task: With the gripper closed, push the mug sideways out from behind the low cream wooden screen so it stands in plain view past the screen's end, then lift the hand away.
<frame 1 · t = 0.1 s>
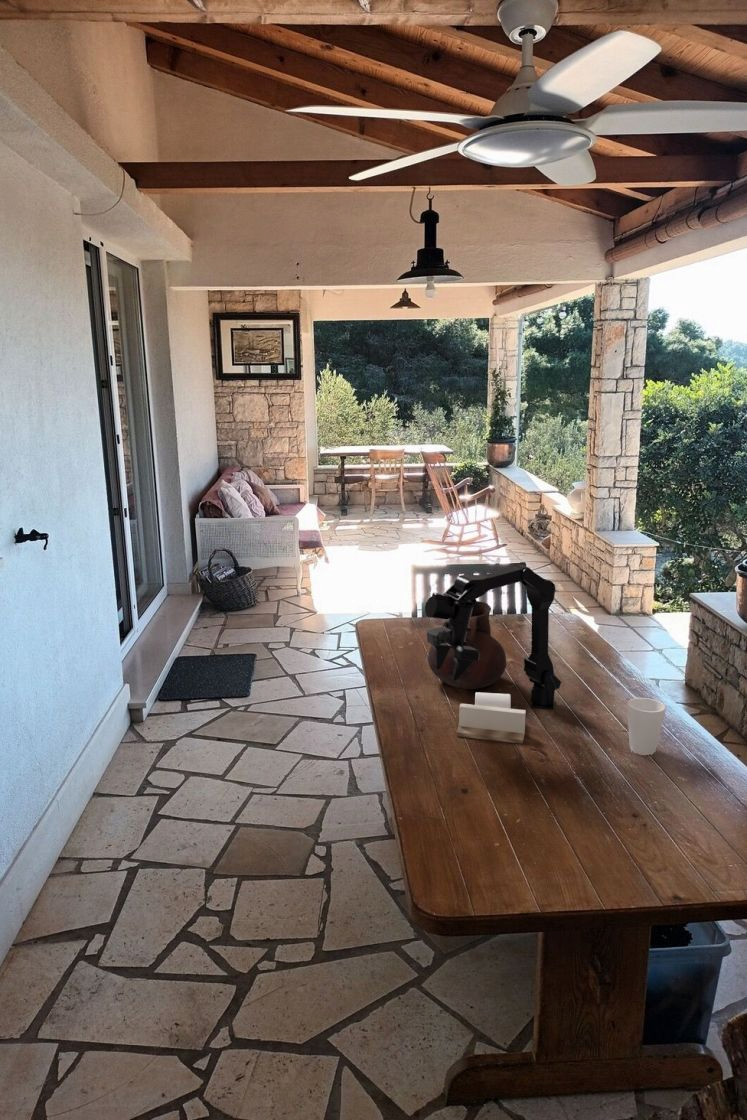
hand: (446, 674, 218), 15 cm above the table, tool pointing down, fingers open, 9 cm apart
mug: (492, 717, 227), on the table
screen: (491, 731, 217), on the table
jug: (466, 683, 252), on the table
foam cup: (642, 751, 206), on the table
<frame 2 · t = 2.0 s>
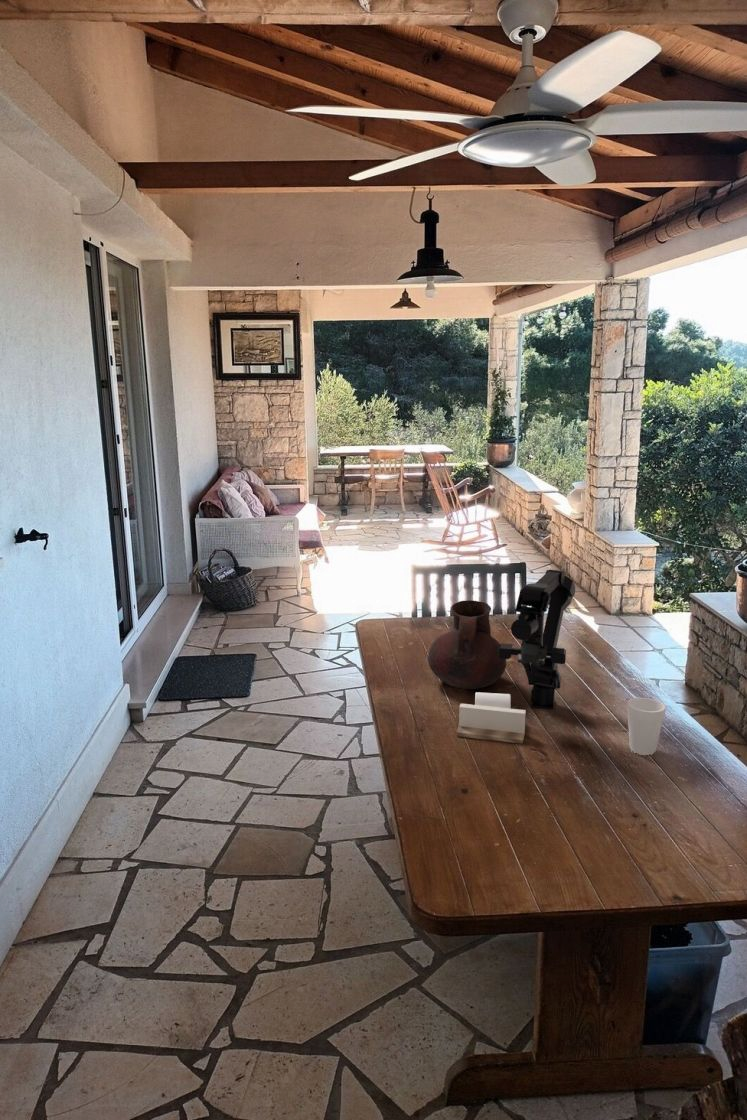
hand: (530, 681, 222), 12 cm above the table, tool pointing down, fingers closed
nothing on the table moved.
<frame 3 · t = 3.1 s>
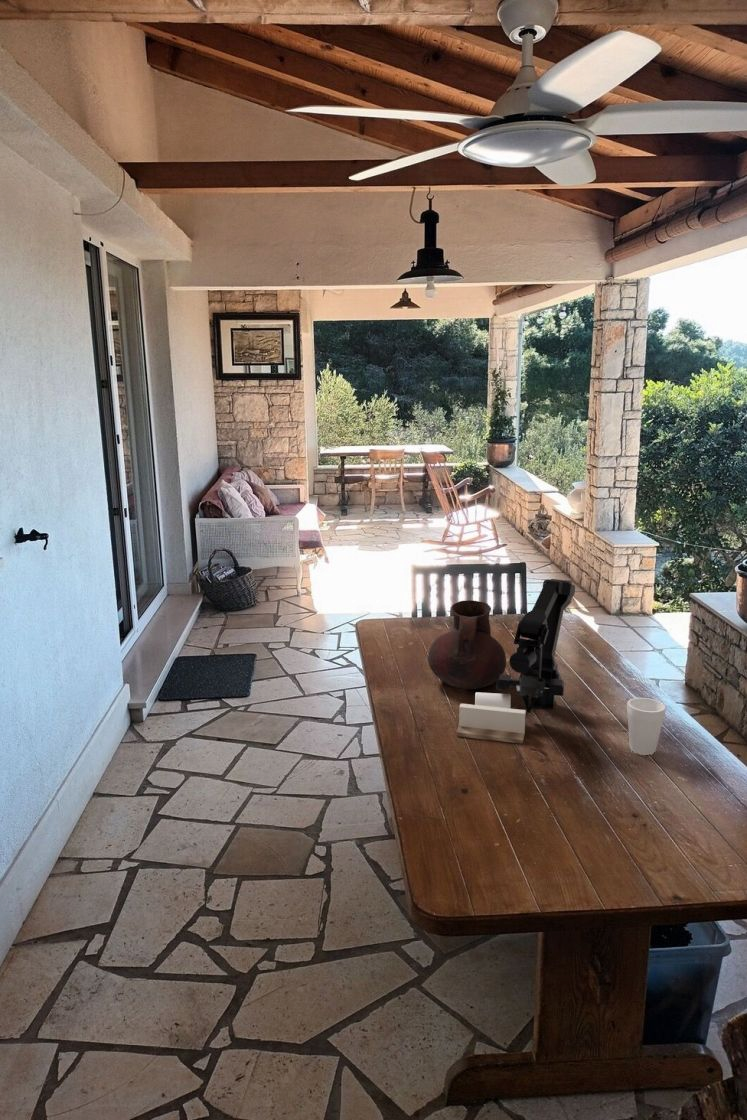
hand: (528, 712, 224), 3 cm above the table, tool pointing down, fingers closed
nothing on the table moved.
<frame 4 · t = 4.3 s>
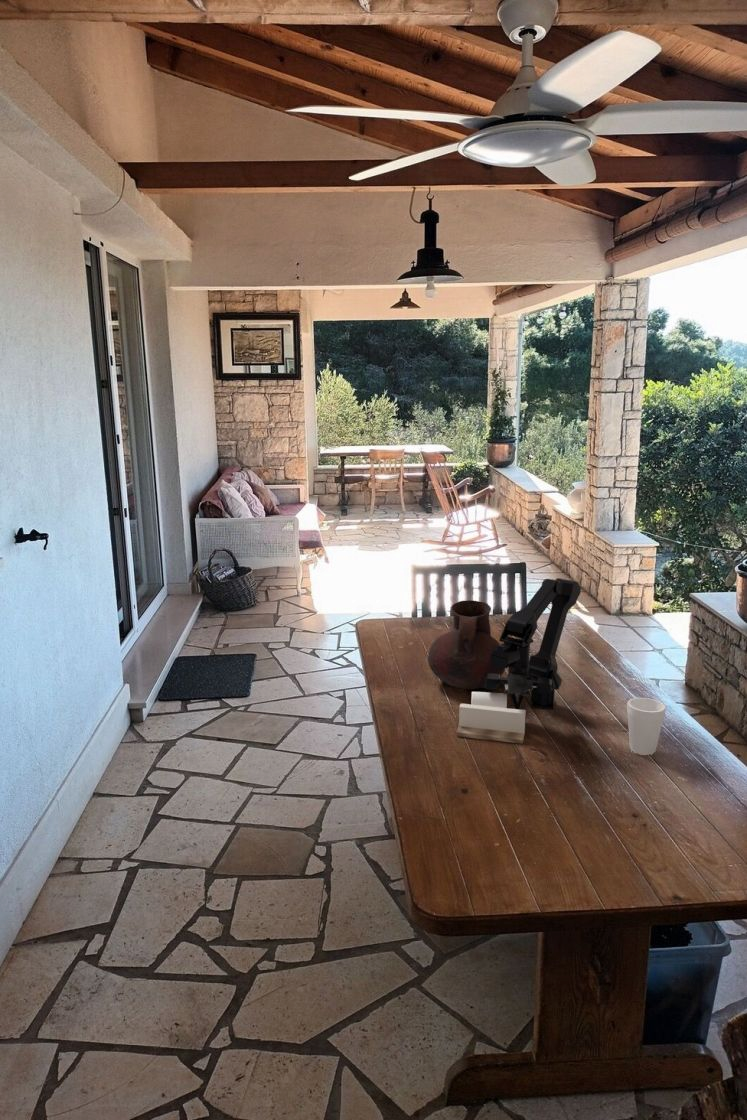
hand: (517, 711, 224), 3 cm above the table, tool pointing down, fingers closed
mug: (488, 717, 227), on the table, touching gripper
everything else where it was.
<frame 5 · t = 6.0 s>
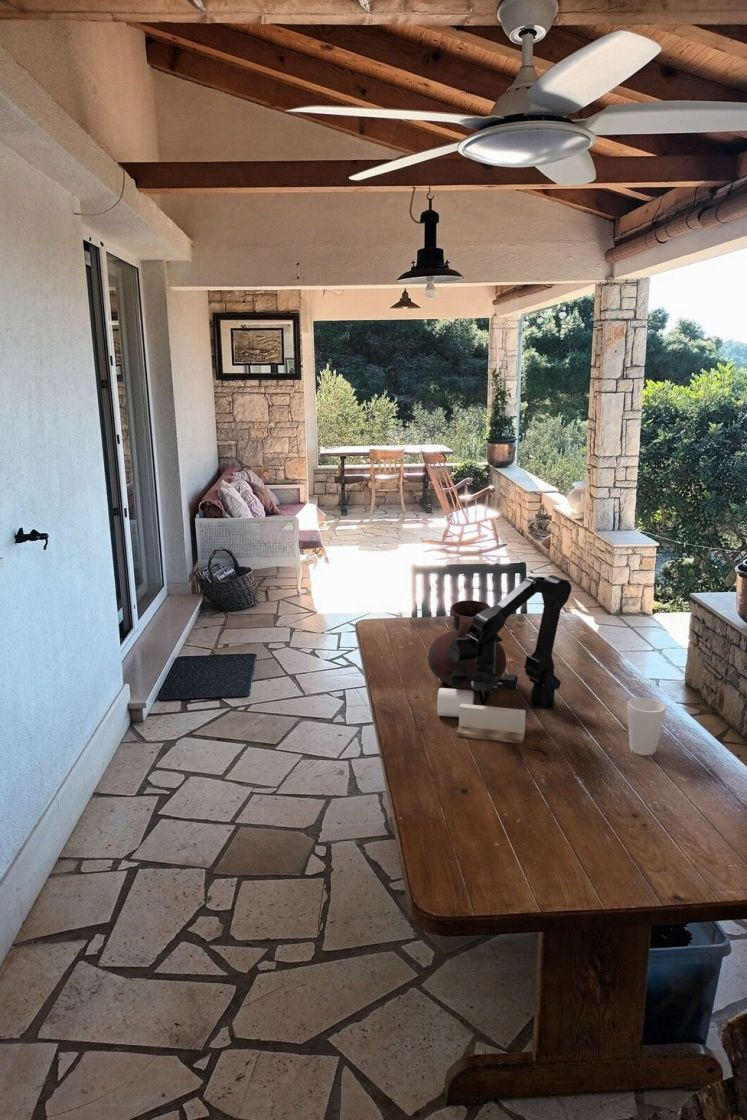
hand: (483, 707, 227), 3 cm above the table, tool pointing down, fingers closed
mug: (456, 713, 230), on the table, touching gripper
everything else where it was.
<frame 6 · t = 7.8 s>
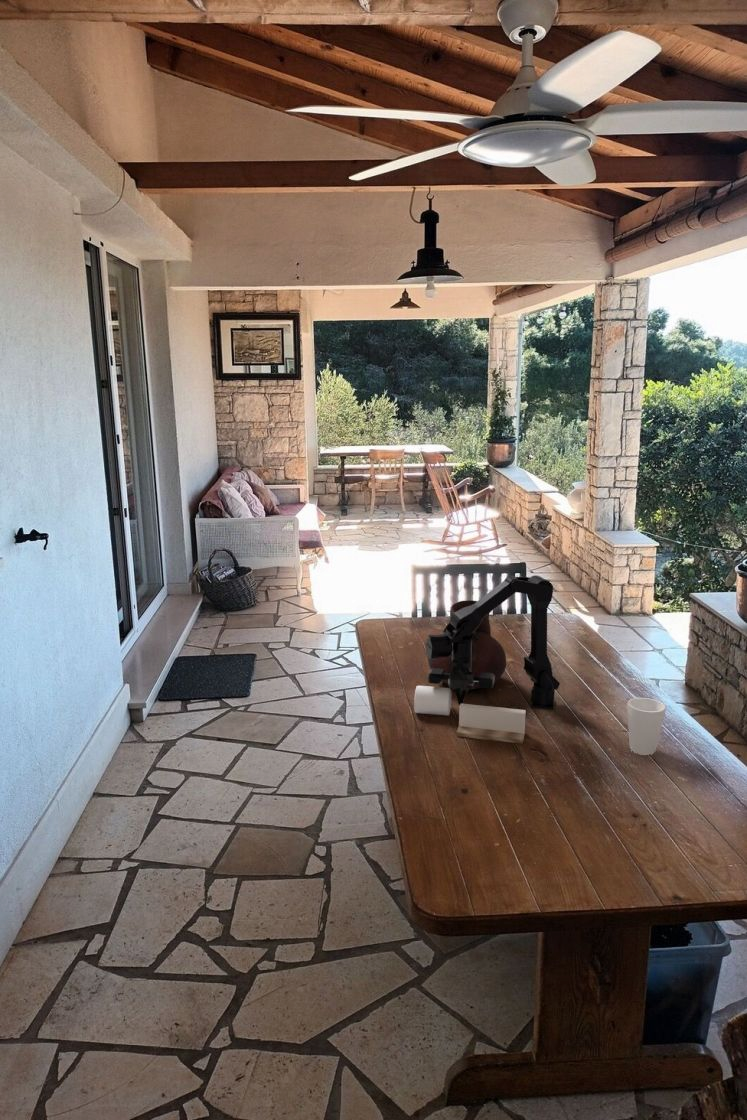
hand: (460, 705, 229), 3 cm above the table, tool pointing down, fingers closed
mug: (433, 710, 231), on the table, touching gripper
everything else where it was.
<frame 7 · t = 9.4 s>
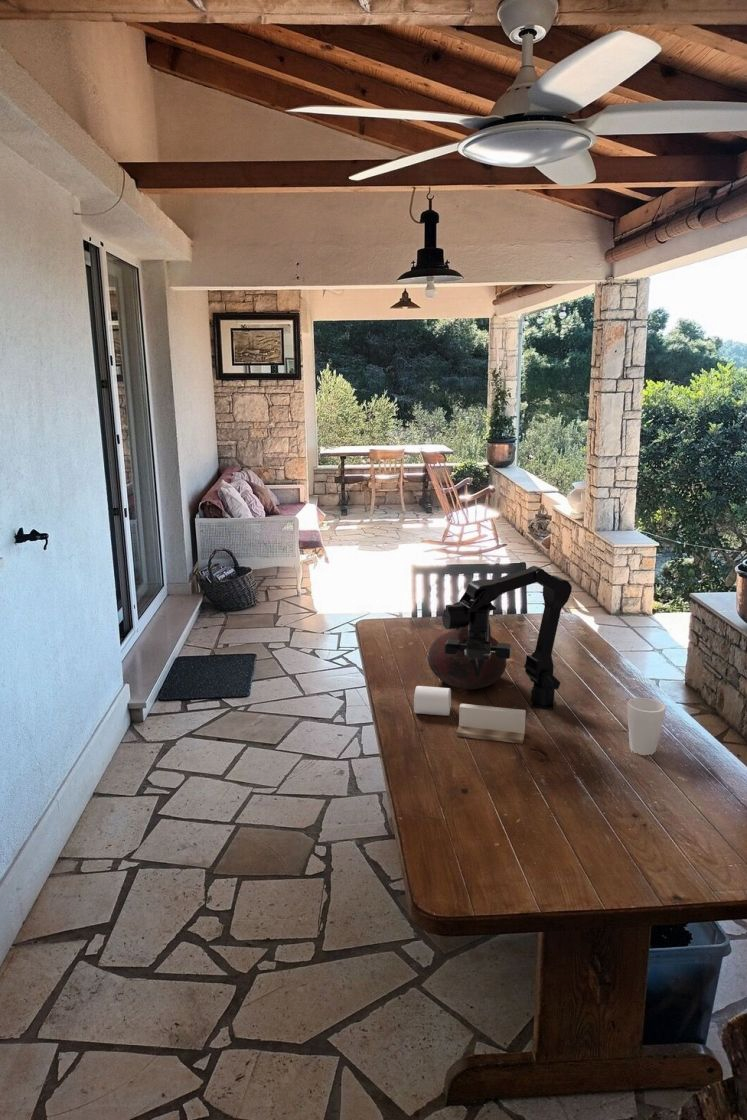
hand: (477, 676, 226), 12 cm above the table, tool pointing down, fingers closed
mug: (433, 711, 232), on the table
everything else where it was.
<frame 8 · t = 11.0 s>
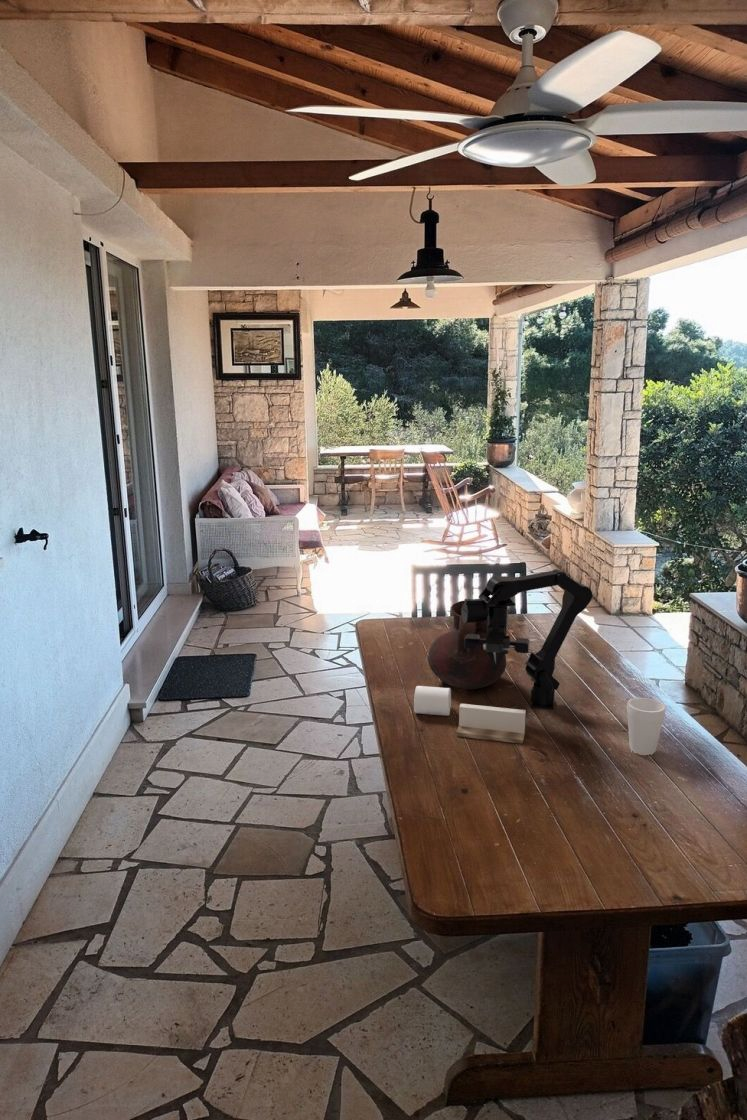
hand: (495, 670, 230), 12 cm above the table, tool pointing down, fingers closed
nothing on the table moved.
at the end: mug inside the target area (1.1 cm from its centre), on the table; mug tilted 0° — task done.
